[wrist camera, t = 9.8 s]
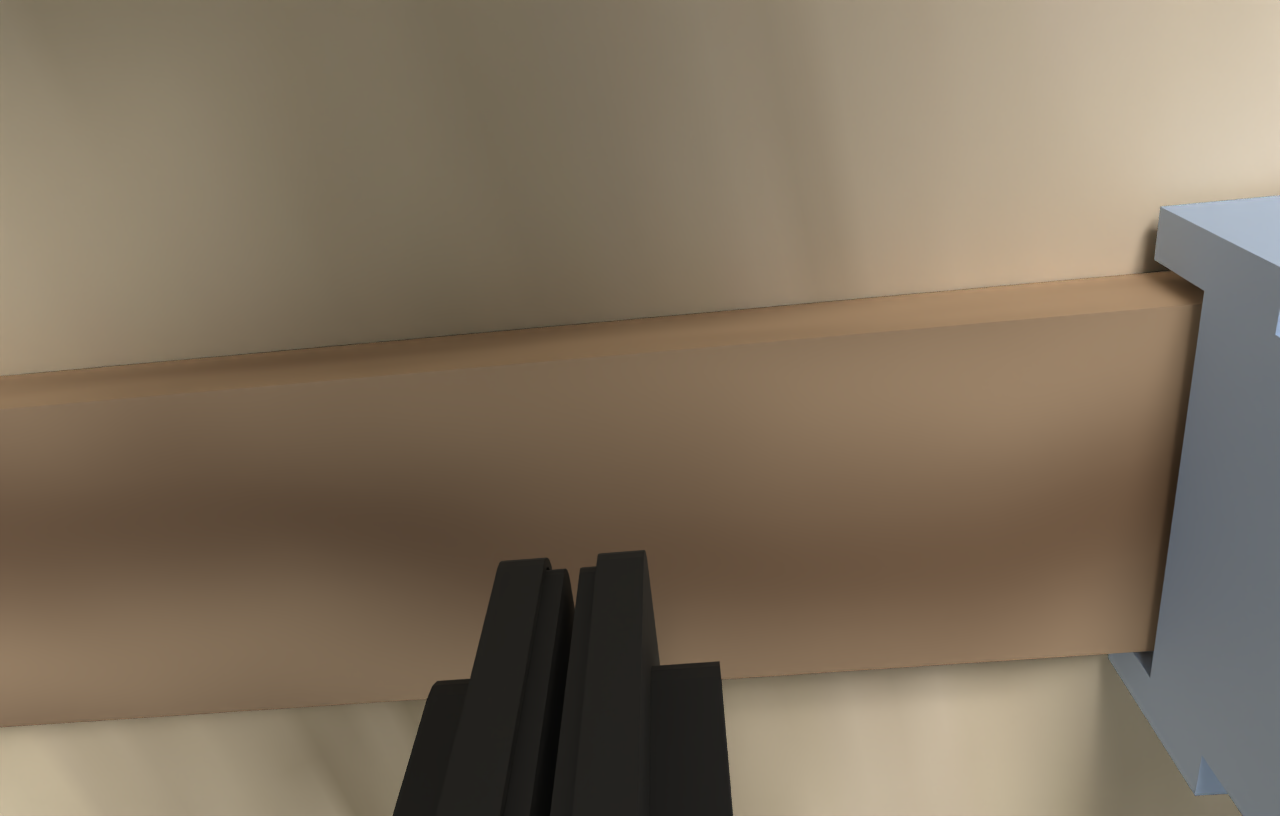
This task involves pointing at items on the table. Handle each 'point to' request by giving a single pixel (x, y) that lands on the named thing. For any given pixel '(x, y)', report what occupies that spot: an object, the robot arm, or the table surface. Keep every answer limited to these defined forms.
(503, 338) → the rail
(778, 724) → the table surface
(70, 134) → the table surface
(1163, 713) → the block
